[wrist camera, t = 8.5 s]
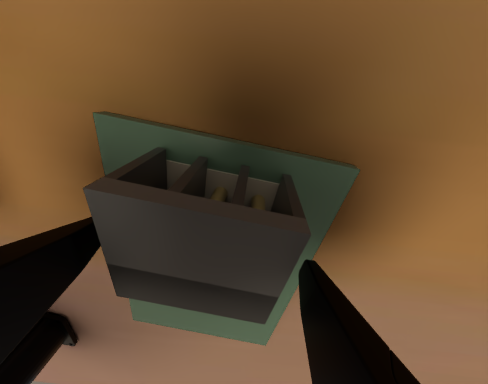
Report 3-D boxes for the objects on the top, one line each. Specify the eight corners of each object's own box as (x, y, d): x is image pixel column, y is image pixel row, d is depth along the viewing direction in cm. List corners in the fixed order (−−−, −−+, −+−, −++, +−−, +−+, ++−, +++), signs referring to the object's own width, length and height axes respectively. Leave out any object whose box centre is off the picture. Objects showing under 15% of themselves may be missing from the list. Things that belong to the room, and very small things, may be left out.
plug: (263, 251, 12) (264, 324, 9) (162, 231, 12) (117, 295, 8) (291, 175, 9) (311, 234, 6) (157, 147, 9) (83, 187, 5)
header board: (265, 336, 19) (266, 386, 16) (137, 311, 19) (111, 357, 16) (353, 165, 10) (400, 198, 7) (104, 111, 10) (22, 118, 6)
